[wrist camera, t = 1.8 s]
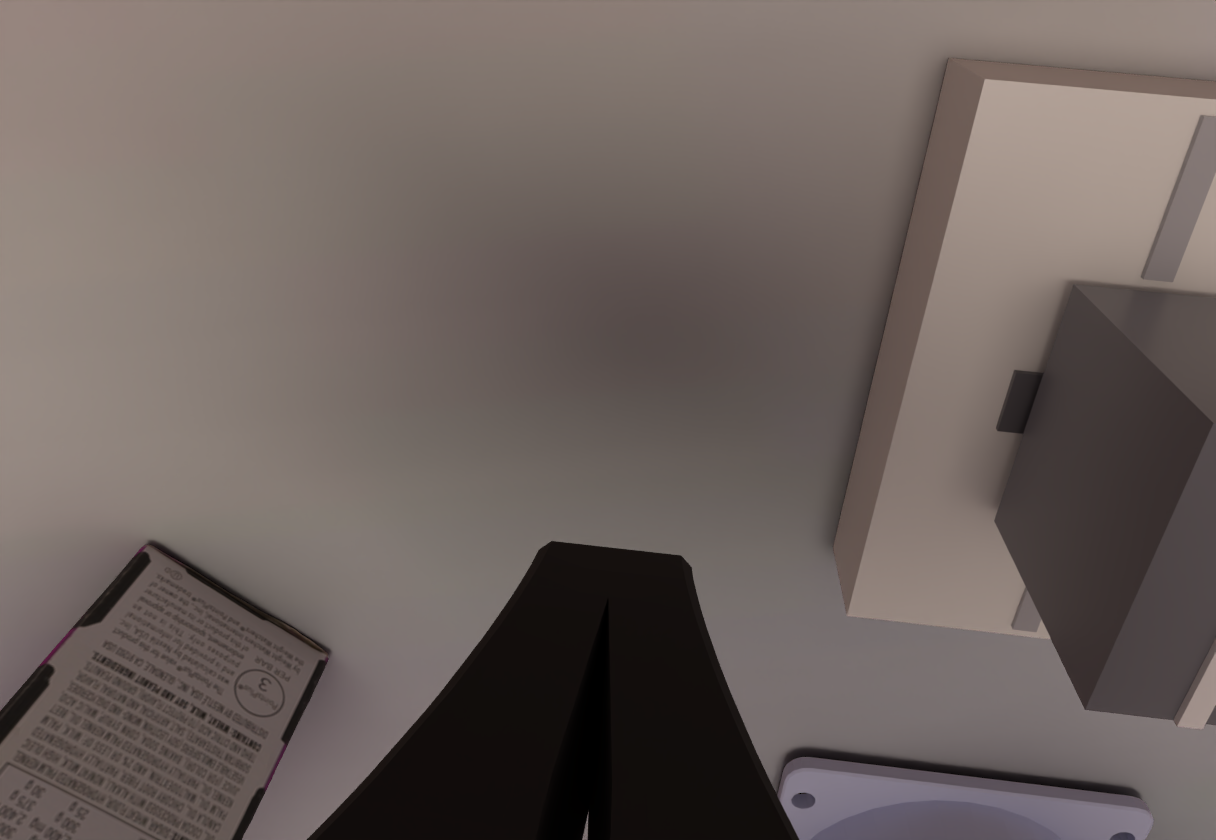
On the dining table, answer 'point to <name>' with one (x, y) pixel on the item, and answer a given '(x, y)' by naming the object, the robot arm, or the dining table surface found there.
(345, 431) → the dining table surface
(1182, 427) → the block
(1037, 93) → the console
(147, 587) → the candy bar box
